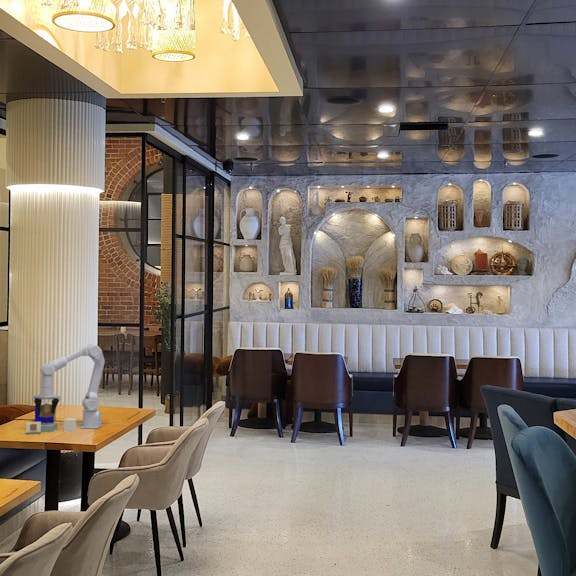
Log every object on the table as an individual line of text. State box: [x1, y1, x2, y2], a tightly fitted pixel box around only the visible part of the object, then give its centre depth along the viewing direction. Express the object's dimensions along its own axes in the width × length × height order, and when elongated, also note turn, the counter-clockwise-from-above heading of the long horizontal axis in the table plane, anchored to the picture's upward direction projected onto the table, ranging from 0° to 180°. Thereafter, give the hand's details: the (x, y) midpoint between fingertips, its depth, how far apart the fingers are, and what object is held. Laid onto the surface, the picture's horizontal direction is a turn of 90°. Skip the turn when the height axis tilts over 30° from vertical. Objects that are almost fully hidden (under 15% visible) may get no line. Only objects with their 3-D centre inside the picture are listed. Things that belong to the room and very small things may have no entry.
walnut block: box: [40, 404, 53, 418], centre depth 386 cm, size 5×5×6 cm
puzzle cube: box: [34, 401, 57, 423], centre depth 412 cm, size 10×10×10 cm
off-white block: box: [63, 417, 77, 432], centre depth 387 cm, size 5×5×6 cm
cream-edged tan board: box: [25, 421, 42, 435], centre depth 377 cm, size 7×4×6 cm, turn 107°
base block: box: [41, 422, 58, 433], centre depth 386 cm, size 8×8×4 cm
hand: (46, 413), depth 386 cm, fingers closed on walnut block, 7 cm apart
